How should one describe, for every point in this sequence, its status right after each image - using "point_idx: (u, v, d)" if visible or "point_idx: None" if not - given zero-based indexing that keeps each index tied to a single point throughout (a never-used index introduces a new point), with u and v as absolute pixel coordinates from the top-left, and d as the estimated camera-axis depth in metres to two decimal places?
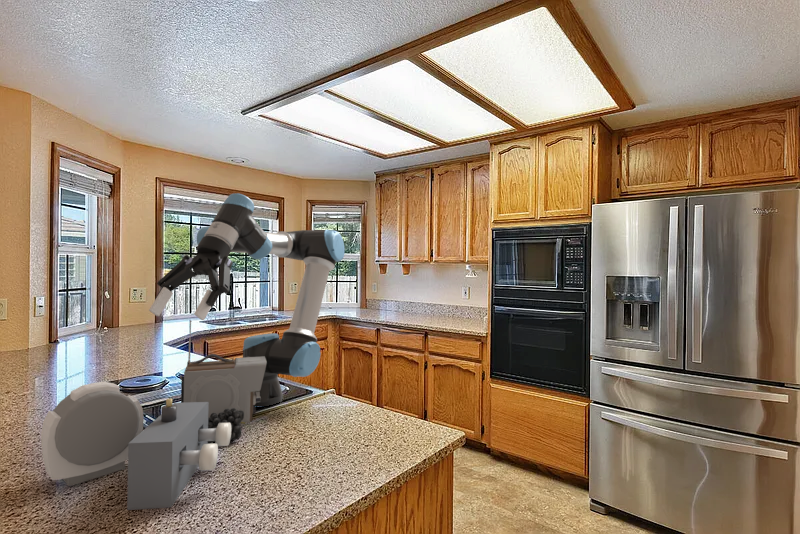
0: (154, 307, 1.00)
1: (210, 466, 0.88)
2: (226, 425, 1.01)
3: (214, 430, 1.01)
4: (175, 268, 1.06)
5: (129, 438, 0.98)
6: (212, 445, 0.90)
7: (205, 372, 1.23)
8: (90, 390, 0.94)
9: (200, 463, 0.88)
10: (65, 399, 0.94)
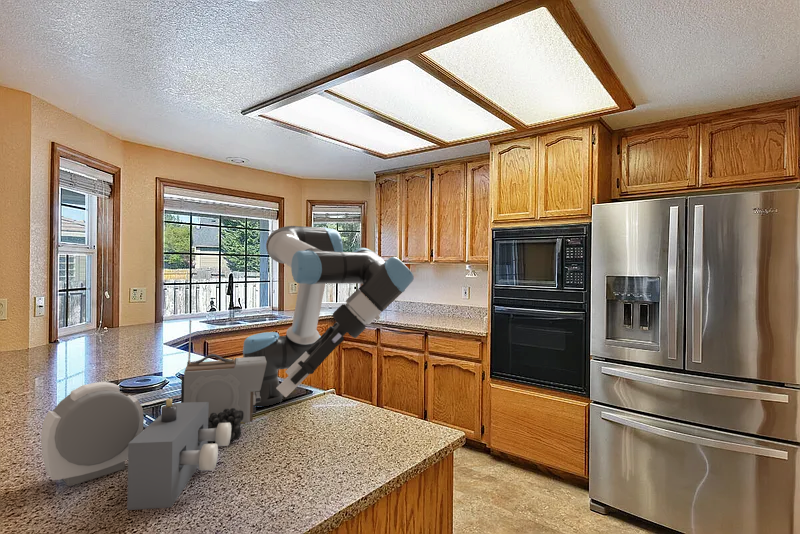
0: None
1: (210, 466, 0.88)
2: (226, 425, 1.01)
3: (214, 430, 1.01)
4: None
5: (129, 438, 0.98)
6: (212, 445, 0.90)
7: (205, 372, 1.23)
8: (90, 390, 0.94)
9: (200, 463, 0.88)
10: (65, 399, 0.94)
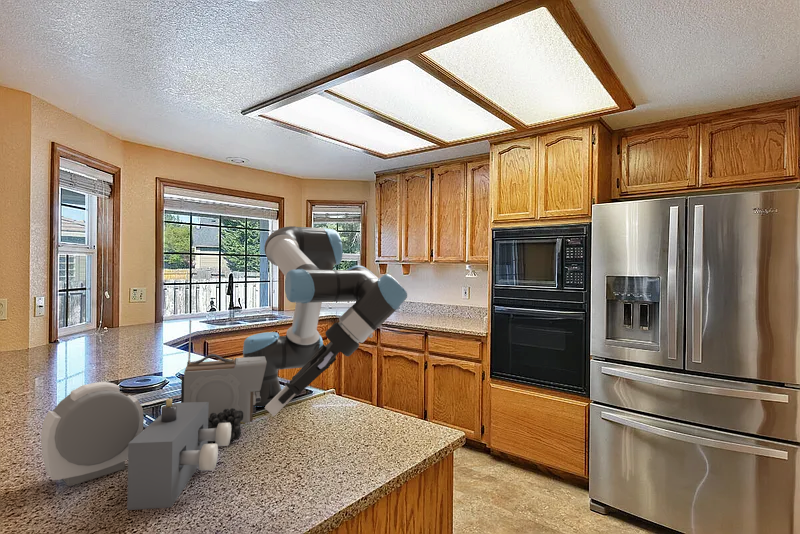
0: None
1: (210, 466, 0.88)
2: (226, 425, 1.01)
3: (214, 430, 1.01)
4: None
5: (129, 438, 0.98)
6: (212, 445, 0.90)
7: (205, 372, 1.23)
8: (90, 390, 0.94)
9: (200, 463, 0.88)
10: (65, 399, 0.94)
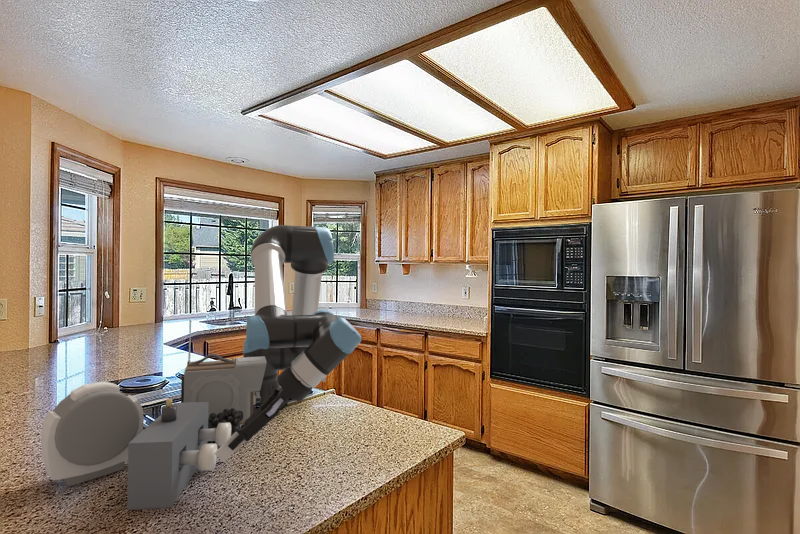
0: None
1: (209, 466, 0.88)
2: (226, 425, 1.01)
3: (214, 430, 1.01)
4: None
5: (129, 438, 0.98)
6: (211, 445, 0.90)
7: (205, 372, 1.23)
8: (90, 390, 0.94)
9: (199, 463, 0.88)
10: (65, 399, 0.94)
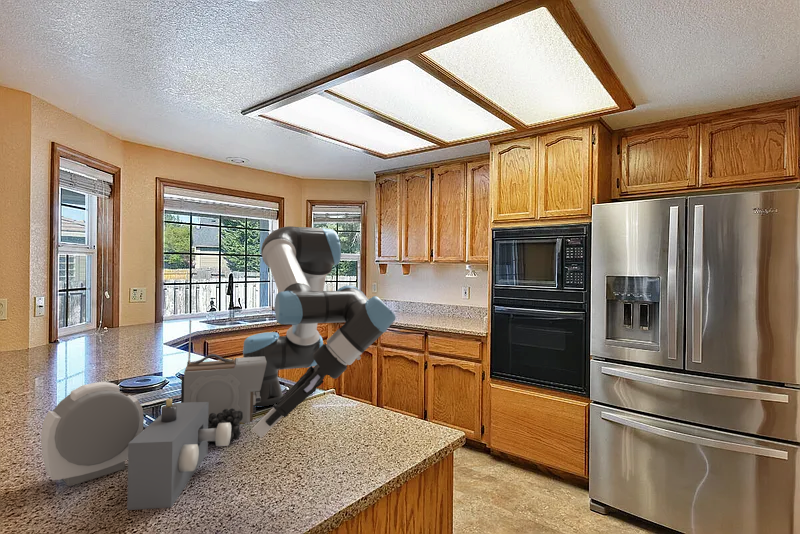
0: None
1: (190, 467, 0.87)
2: (226, 425, 1.01)
3: (214, 430, 1.01)
4: None
5: (129, 438, 0.98)
6: (192, 446, 0.89)
7: (205, 372, 1.23)
8: (90, 390, 0.94)
9: (179, 464, 0.87)
10: (65, 399, 0.94)
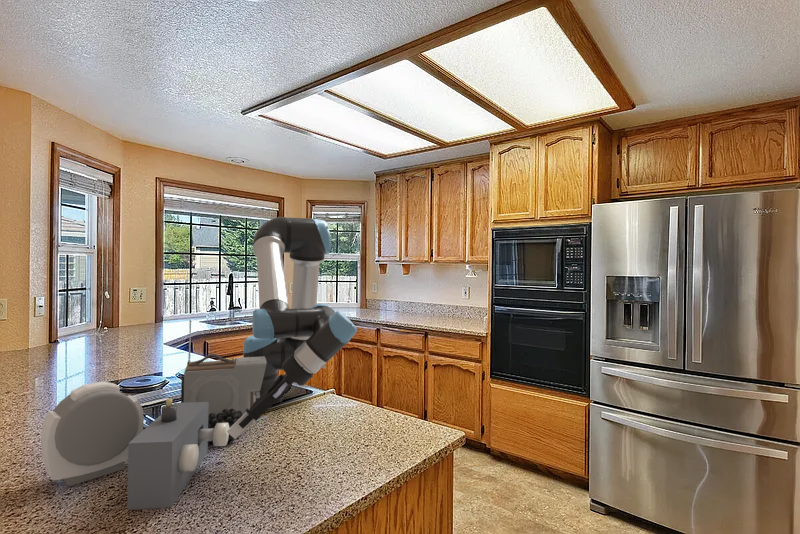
0: None
1: (190, 467, 0.87)
2: (224, 425, 1.01)
3: (212, 430, 1.01)
4: None
5: (129, 438, 0.98)
6: (192, 446, 0.89)
7: (205, 372, 1.23)
8: (90, 390, 0.94)
9: (179, 464, 0.87)
10: (65, 399, 0.94)
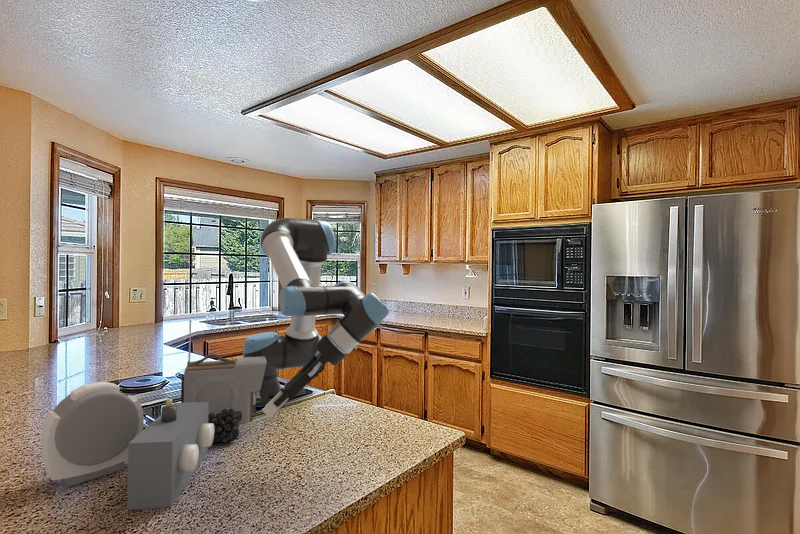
0: None
1: (190, 467, 0.87)
2: (208, 426, 1.01)
3: None
4: None
5: (129, 438, 0.98)
6: (192, 446, 0.89)
7: (205, 372, 1.23)
8: (90, 390, 0.94)
9: (179, 464, 0.87)
10: (65, 399, 0.94)
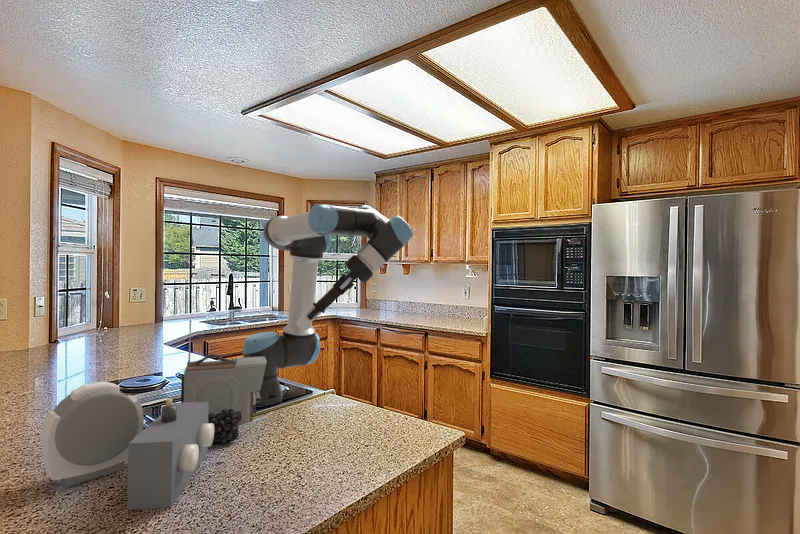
0: None
1: (190, 467, 0.87)
2: (208, 426, 1.01)
3: None
4: None
5: (129, 438, 0.98)
6: (192, 446, 0.89)
7: (205, 372, 1.23)
8: (90, 390, 0.94)
9: (179, 464, 0.87)
10: (65, 399, 0.94)
